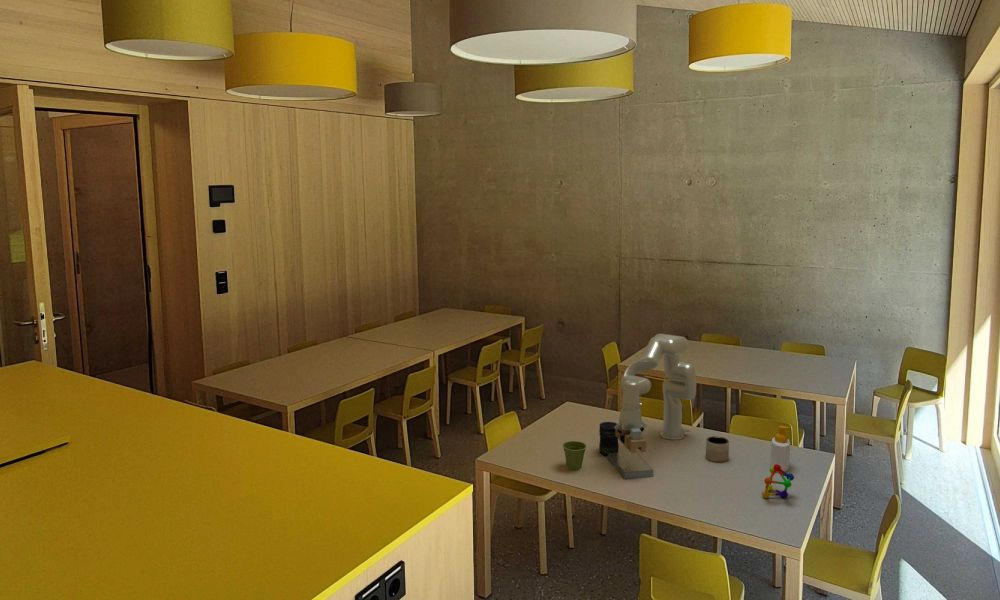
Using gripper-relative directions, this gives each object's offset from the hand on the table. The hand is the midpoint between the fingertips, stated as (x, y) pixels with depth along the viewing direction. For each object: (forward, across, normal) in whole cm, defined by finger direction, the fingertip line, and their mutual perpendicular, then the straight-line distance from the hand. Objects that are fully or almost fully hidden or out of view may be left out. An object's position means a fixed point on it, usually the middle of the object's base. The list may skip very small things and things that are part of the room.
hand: (630, 441), depth 331 cm
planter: (+14, -46, -1) cm, 48 cm away
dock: (+13, 0, 0) cm, 13 cm away
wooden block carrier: (+1, 0, 0) cm, 1 cm away
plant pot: (+14, +26, -6) cm, 30 cm away
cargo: (-4, 0, +7) cm, 8 cm away
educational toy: (+14, -52, +42) cm, 68 cm away
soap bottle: (+13, -70, +15) cm, 73 cm away
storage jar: (+14, +4, -19) cm, 24 cm away
